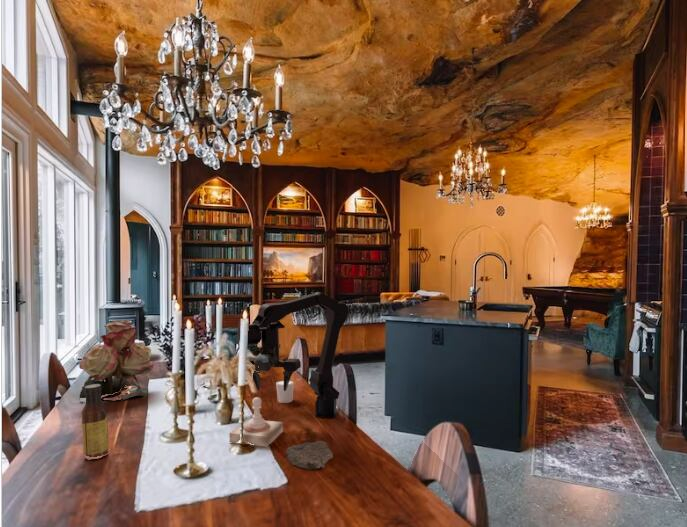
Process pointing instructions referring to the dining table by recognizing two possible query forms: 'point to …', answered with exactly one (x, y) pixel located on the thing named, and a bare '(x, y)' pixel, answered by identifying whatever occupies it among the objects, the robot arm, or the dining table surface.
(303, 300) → the robot arm
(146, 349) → the rose bouquet
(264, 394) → the dining table surface
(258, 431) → the plinth
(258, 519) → the dining table surface
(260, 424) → the chess pawn
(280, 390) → the shot glass
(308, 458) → the stone slab
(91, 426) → the sauce bottle
